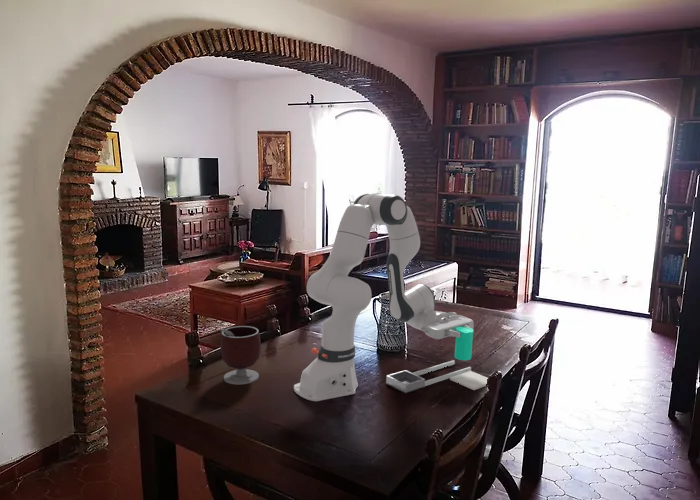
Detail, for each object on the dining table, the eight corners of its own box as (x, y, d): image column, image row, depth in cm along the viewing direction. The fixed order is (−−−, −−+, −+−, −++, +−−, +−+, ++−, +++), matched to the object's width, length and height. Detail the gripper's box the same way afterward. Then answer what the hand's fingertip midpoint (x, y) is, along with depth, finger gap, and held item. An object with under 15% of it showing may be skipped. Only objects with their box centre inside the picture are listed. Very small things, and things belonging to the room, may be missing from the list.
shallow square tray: (405, 393, 183) (405, 385, 182) (386, 383, 191) (386, 375, 190) (424, 387, 188) (425, 379, 188) (405, 377, 196) (405, 370, 195)
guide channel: (424, 386, 189) (424, 382, 189) (407, 378, 196) (407, 374, 195) (470, 371, 203) (471, 367, 203) (453, 363, 210) (453, 360, 210)
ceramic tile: (473, 390, 186) (474, 388, 186) (449, 379, 195) (450, 377, 195) (494, 382, 193) (494, 380, 192) (470, 372, 201) (470, 370, 201)
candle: (451, 357, 195) (453, 325, 192) (458, 352, 199) (460, 321, 197) (467, 361, 191) (469, 329, 189) (473, 356, 196) (476, 324, 194)
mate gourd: (244, 367, 204) (242, 315, 201) (269, 376, 196) (268, 323, 192) (209, 379, 193) (207, 325, 189) (234, 390, 184) (233, 333, 181)
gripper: (418, 320, 197) (446, 330, 186) (456, 311, 209) (485, 319, 198) (417, 337, 198) (446, 347, 187) (455, 326, 210) (484, 336, 199)
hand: (466, 333), depth 193 cm, fingers closed on candle, 5 cm apart
